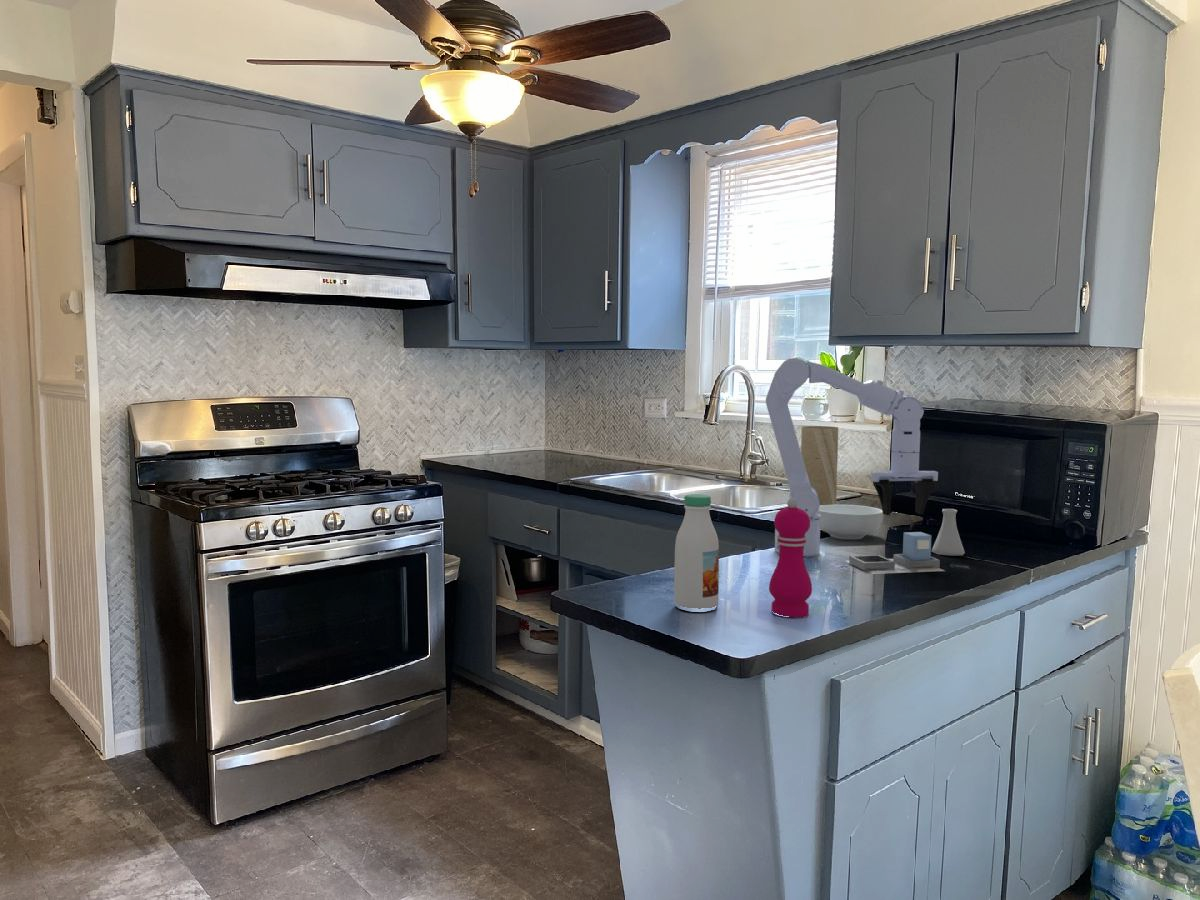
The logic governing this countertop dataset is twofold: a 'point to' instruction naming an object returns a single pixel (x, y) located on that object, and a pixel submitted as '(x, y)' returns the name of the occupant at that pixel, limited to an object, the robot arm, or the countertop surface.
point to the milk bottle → (696, 556)
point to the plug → (916, 546)
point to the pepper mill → (791, 563)
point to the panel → (893, 564)
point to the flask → (948, 536)
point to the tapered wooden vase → (821, 460)
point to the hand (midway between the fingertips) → (902, 514)
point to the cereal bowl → (849, 520)
